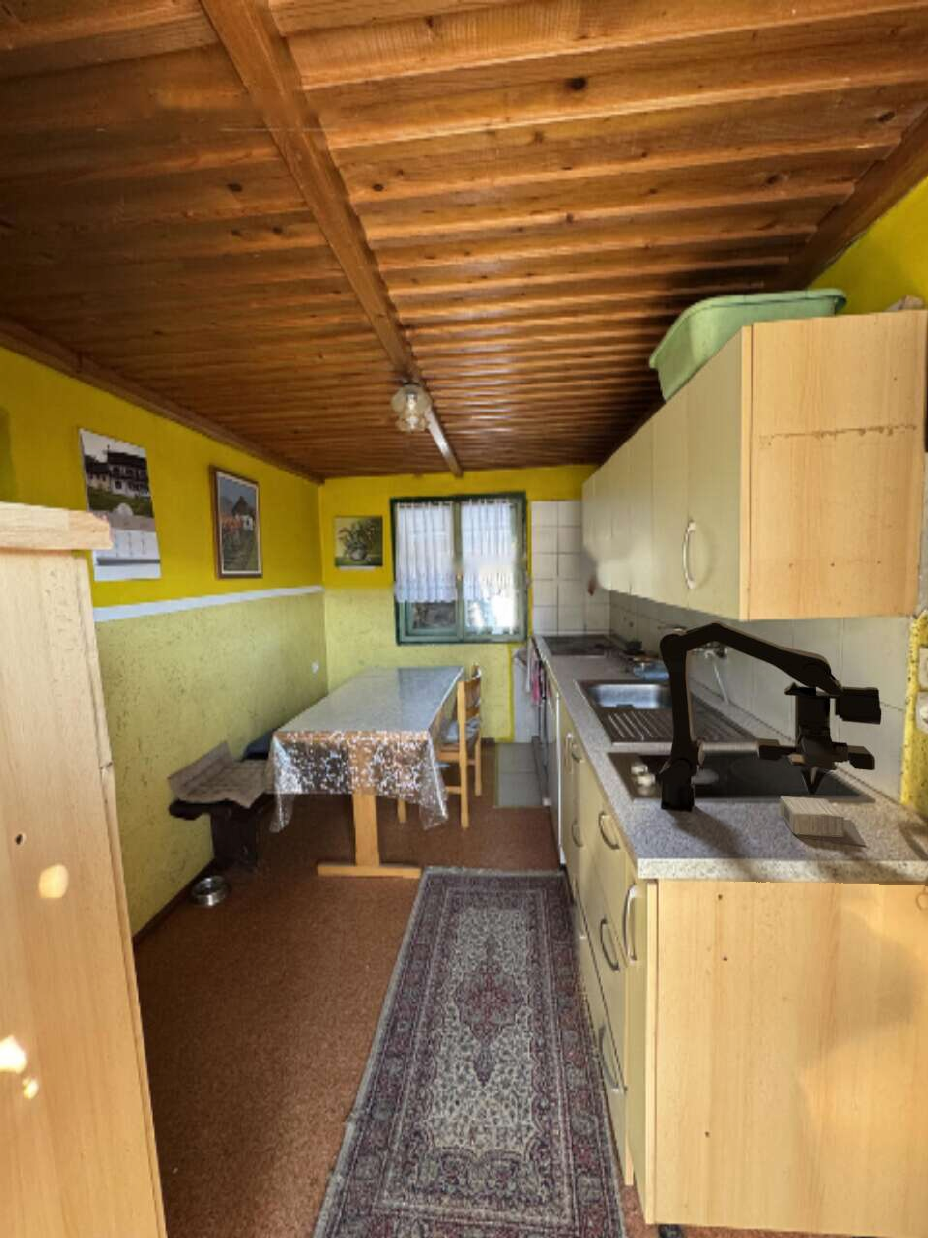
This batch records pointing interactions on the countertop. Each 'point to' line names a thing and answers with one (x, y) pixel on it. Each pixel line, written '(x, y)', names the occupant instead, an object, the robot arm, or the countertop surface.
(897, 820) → the countertop surface
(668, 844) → the countertop surface
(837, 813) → the wooden block
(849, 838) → the mat
